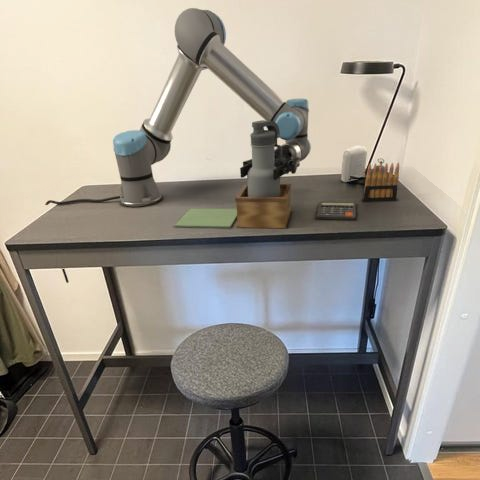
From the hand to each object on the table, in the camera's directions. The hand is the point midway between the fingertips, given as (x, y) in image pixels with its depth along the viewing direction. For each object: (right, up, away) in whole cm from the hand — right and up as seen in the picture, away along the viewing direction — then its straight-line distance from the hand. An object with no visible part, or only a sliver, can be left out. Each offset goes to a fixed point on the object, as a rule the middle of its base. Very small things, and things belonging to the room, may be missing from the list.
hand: (257, 173), depth 113 cm
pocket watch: (+48, +8, +35) cm, 59 cm away
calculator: (+26, -7, +14) cm, 30 cm away
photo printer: (+40, +13, +43) cm, 60 cm away
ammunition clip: (+42, -2, +21) cm, 47 cm away
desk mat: (-15, -9, +15) cm, 23 cm away
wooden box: (+3, -10, +11) cm, 16 cm away
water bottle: (+3, -10, +12) cm, 16 cm away
